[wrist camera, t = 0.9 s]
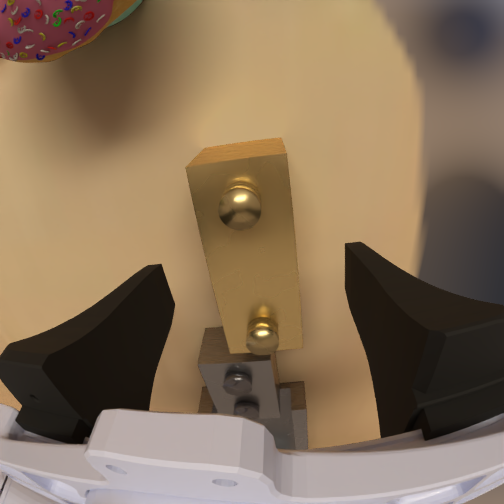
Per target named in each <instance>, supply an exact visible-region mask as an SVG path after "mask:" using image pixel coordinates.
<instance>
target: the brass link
mask: <svg viewBox="0 0 504 504" xmlns="http://www.w3.org/2000/svg"><path fill="white" fill-rule="evenodd" d="M185 168H186V172H187V177H188V182H189V187H190V191H191V196H192V201H193V205H194V210H195V214H196V219H197V223H198V227H199V232H200V236H201V240H202V245H203V249H204V253H205V257H206V261H207V266H208V270H209V274H210V278H211V282H212V286H213V290H214V294H215V298H216V302H217V305H218V309H219V313H220V317H221V321H222V325H223V328H224V332H225V336H226V340H227V343H228V347H229V351H230V354H234V353H251V352H252V353H254V354H256V355H269V354H271V353H273V352H275V351H277V350H288V349H298V348H303V337H302V320H301V304H300V290H299V277H298V264H297V252H296V240H295V229H294V218H293V208H292V198H291V188H290V179H289V170H288V161H287V153H286V150H285V147H284V144H283V142H282V139H281V138H272V139H263V140H255V141H248V142H240V143H233V144H226V145H220V146H214V147H208V148H204V149H203V150H202V151H201V152H200V153H199V154H198V155H197V156H196V157H195V158H194V159H193V160H192V161H191V162H190V163H189V164H188V165H187V166H186V167H185Z"/></svg>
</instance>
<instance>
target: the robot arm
mask: <svg viewBox="0 0 504 504" xmlns="http://www.w3.org/2000/svg"><path fill="white" fill-rule="evenodd" d="M345 290H346V295H347V299H348V303H349V308H350V311H351V314H352V316H353V319H354V322H355V324H356V327H357V330H358V333H359V335H360V338H361V341H362V344H363V346H364V349H365V352H366V355H367V359H368V362H369V367H370V371H371V376H372V381H373V387H374V392H375V398H376V404H377V411H378V418H379V425H380V435H381V438H380V439H375V440H370V441H365V442H359V443H353V444H347V445H340V446H333V447H325V448H316V449H307V450H288V449H277V448H276V445H275V441H274V437H273V435H272V434H271V433H270V432H269V431H268V430H267V429H266V427H265V426H264V425H262V424H261V423H258V422H256V421H253V420H250V419H248V418H245V417H243V416H237V415H228V414H219V413H177V412H159V411H149V406H150V399H151V393H152V387H153V382H154V377H155V373H156V370H157V366H158V363H159V360H160V357H161V354H162V351H163V348H164V346H165V343H166V340H167V337H168V334H169V331H170V328H171V324H172V319H173V314H174V308H175V303H174V300H173V297H172V294H171V291H170V288H169V285H168V282H167V279H166V276H165V273H164V270H163V267H162V264H156V265H148V266H146V267H144V268H143V269H141V270H140V271H138V272H137V273H136V274H134V275H133V276H132V277H130V278H129V279H128V280H126V281H125V282H124V283H123V284H121V285H120V286H119V287H118V288H116V289H115V290H114V291H112V292H111V293H110V294H108V295H107V296H106V297H104V298H103V299H102V300H100V301H99V302H97V303H96V304H95V305H93V306H92V307H90V308H89V309H87V310H85V311H84V312H82V313H81V314H79V315H77V316H76V317H74V318H72V319H70V320H68V321H66V322H64V323H62V324H60V325H58V326H57V327H54V328H52V329H50V330H48V331H45V332H43V333H40V334H38V335H35V336H32V337H29V338H26V339H23V340H20V341H17V342H13V343H10V344H9V345H8V346H7V347H6V348H5V350H4V351H3V353H2V354H1V355H0V379H1V381H2V382H3V383H4V385H5V386H6V387H7V388H8V390H9V391H10V392H11V393H12V394H13V395H14V397H15V398H16V399H17V400H18V401H19V402H20V403H21V405H23V406H22V408H21V410H20V412H19V411H18V410H17V409H15V408H13V407H11V406H8V405H5V404H2V403H0V504H463V503H465V502H467V501H469V500H472V499H474V498H476V497H478V496H480V495H482V494H484V493H486V492H488V491H490V490H492V489H494V488H496V487H498V486H500V485H501V484H503V483H504V306H503V305H500V304H494V303H488V302H483V301H478V300H474V299H470V298H467V297H463V296H459V295H456V294H453V293H450V292H448V291H445V290H442V289H439V288H437V287H435V286H432V285H430V284H428V283H426V282H424V281H422V280H420V279H418V278H416V277H414V276H412V275H410V274H409V273H407V272H405V271H404V270H402V269H400V268H399V267H397V266H395V265H394V264H392V263H391V262H389V261H388V260H386V259H385V258H383V257H382V256H381V255H379V254H378V253H376V252H375V251H374V250H372V249H371V248H369V247H368V246H366V245H365V244H363V243H362V242H353V243H345Z"/></svg>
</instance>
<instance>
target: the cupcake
mask: <svg viewBox="0 0 504 504" xmlns="http://www.w3.org/2000/svg"><path fill="white" fill-rule="evenodd" d="M142 1H143V0H0V58H3V59H7V60H11V61H16V62H25V63H34V62H49V61H53V60H56V59H58V58H60V57H62V56H63V55H65V54H67V53H68V52H70V51H72V50H75V49H77V48H79V47H82V46H84V45H87V44H89V43H90V42H92V41H93V40H94V39H96V38H97V37H98V36H99V34H100V33H101V32H102V31H103V30H104V29H105V28H106V27H109V26H112V25H114V24H116V23H118V22H120V21H121V20H123V19H125V18H126V17H127V16H129V15H130V14H131V13H132V12H133V11H134V10H135V9H136V8H137V7H138V6H139V5H140V3H141V2H142Z"/></svg>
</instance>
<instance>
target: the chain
mask: <svg viewBox="0 0 504 504" xmlns="http://www.w3.org/2000/svg"><path fill="white" fill-rule="evenodd" d="M198 367H199V369H200V372H201V374H202V377H203V379H204V381H205V384H206V386H207V387H203V388H202V393H201V399H200V404H199V410H198V413H219V414H228V415H237V416H243V417H245V418H248V419H250V420H253V421H256V422H258V423H261V424H262V425H264V426H265V427H266V429H267V430H268V431H269V432H270V433H271V434H272V435H273V437H274V441H275V445H276V448H277V449H288V450H307V449H308V436H307V411H306V399H305V387H304V381H302V382H292V383H281V384H280V382H279V376H278V369H277V363H276V356H275V352H273V353H271V354H269V355H256V354H254V353H252V352H251V353H234V354H230V351H229V347H228V343H227V340H226V336H225V332H224V328H223V327H219V328H205V333H204V337H203V342H202V346H201V351H200V355H199V360H198Z"/></svg>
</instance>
